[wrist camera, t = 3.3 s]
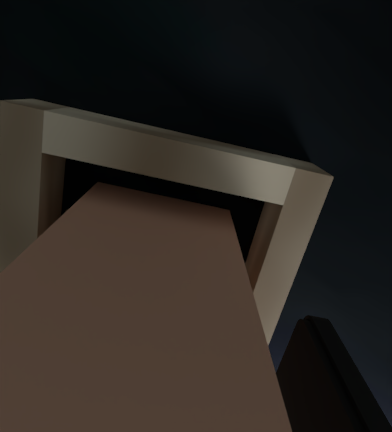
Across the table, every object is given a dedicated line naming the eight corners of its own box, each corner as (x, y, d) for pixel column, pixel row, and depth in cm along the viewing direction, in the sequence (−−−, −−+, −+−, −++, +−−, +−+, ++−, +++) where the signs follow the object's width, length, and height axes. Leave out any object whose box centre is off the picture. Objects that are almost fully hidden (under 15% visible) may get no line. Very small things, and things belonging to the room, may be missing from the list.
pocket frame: (311, 162, 12) (333, 177, 10) (238, 367, 15) (244, 406, 13) (33, 98, 11) (-1, 100, 9) (23, 329, 14) (-2, 365, 12)
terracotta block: (229, 210, 12) (335, 587, 3) (199, 315, 14) (207, 760, 5) (97, 181, 12) (-260, 515, 3) (84, 294, 14) (-157, 733, 4)
